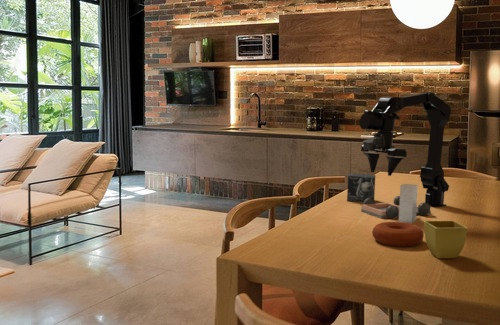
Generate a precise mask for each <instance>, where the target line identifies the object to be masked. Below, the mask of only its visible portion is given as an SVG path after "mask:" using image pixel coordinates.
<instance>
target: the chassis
mask: <svg viewBox="0 0 500 325" xmlns="http://www.w3.org/2000/svg"><path fill="white" fill-rule="evenodd" d="M399 204H400V195H397V196H395V197H394V199H393V203H391V202H380V203H376V201H375V199H374V200H373V199H370V198H367V199H365V200H364V202H362V204H361V206H360V208H361V210H360V212H361V213H365V214H368V215H369V216H373V217H376V218H378V219H392V220H393V219H395V218H399ZM431 213H432V210H431V206H430V205H429V204H427V203H425V202H420V203H419V204H418V206H417V207H416V216H428V215H431Z"/></svg>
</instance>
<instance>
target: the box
mask: <svg viewBox="0 0 500 325" xmlns="http://www.w3.org/2000/svg"><path fill="white" fill-rule="evenodd" d="M375 187H376V175H375V174H365V173H364V174H362V173H361V174H360V173H349V174H348V175H347V190H346V191H347V196H346V201H347V202H354V201H355V203H363V202H364V200H365V199H367V198H370V199H373V200H374V201H375V194H376V193H375V191H376V188H375Z"/></svg>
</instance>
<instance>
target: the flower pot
mask: <svg viewBox="0 0 500 325" xmlns="http://www.w3.org/2000/svg"><path fill="white" fill-rule="evenodd" d="M423 225H424V226H423V227H424V239H425V242H426V245H427V246H426V247H428V250H429V251H430V253H431V255H433V256H435V257H436V258H438V259H457V258H458V257H459V256H460V254H461V253H462V251H463V250H464V248H465V247H464V246H465V243H466V238H467V233H468V227H467V226H465V225H464V224H463V225H462V224H461V223H460V222H458V221H455V220H424V221H423Z"/></svg>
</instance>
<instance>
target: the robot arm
mask: <svg viewBox="0 0 500 325" xmlns="http://www.w3.org/2000/svg"><path fill="white" fill-rule="evenodd" d="M417 105H421V106H422V107H423V108H422V109H423V110H425V112H426V113H427V114H426V115H427V120H428V124H429V126H430V129H429V130H430V131H429V140H428V151H427V160H426V161H427V162H426V164H425V165H424V166H421V167H420V175H419V178H420V182H421V185H422V189H426V192H425V197H424V198H425V200H424V203H427V204H429V205H430V207H432V208H437V207H447V204H445V202H444V201H445V192H448V191H449V189H450V185H449V183H448V182H447V181H446V179H445V172H444V169H443V167H442V165H441V163H442V154H443V144H444V143H443V142H444V132H445V127H446V125H447V124H448V123H449V121H450V117H451V112H452V109H451V107H450V105H449V104H448V103H446V102H445V101H444V100H442V99H441V98H439V97H438V96H436V95H435V93H433V92H431V91H422V92H418V93H413V94H409V95H408V94H407V95H404V96H403V95H402V96H381V97H379V98H378V101H377V103H376V104H375V106H374V107H373V109H372V110H366V109H365V110H364V112H363V114H362V115H361V116H360V118H359V121H358V122H359V127H360V128H361V129H362V130H366V131H367V130H370V131H377V132H374V134H373V137H370V138H368V139H364V140H363V141H362V145H361V146H360V147H361V150H360V151H361V152H362V154H364V155H365V157H366V158H367V159H368V163H369V164H368V165H369V168H370V172H371V173H374V172H375V171H376V168H377V164H378V161H379V158H380V155H381V154H380V153H382V154H387V155H386V159H387V161H388V165H387V176H389V177H390V176H392V175H393V173H394V171H395V170H396V168H397V167H398V166H399V164H400V163H401V161H402V160H404V158H407V155H408V151H407V149H406V148H400V147H395V145H393V140H394V139H395V138H397V137H396V136H397V135H396V134H394V132H395V123H396V120H398V121H399V120H401V117H400V116H399V115H398V114H397V113H398V112H400V111H402V110H403V109H405V108H407V107H412V106H417Z"/></svg>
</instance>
